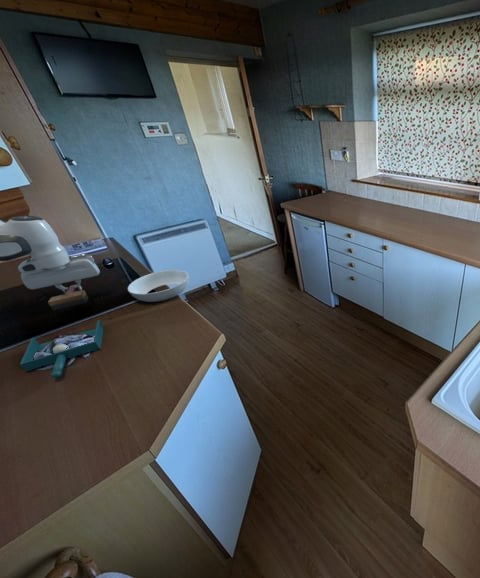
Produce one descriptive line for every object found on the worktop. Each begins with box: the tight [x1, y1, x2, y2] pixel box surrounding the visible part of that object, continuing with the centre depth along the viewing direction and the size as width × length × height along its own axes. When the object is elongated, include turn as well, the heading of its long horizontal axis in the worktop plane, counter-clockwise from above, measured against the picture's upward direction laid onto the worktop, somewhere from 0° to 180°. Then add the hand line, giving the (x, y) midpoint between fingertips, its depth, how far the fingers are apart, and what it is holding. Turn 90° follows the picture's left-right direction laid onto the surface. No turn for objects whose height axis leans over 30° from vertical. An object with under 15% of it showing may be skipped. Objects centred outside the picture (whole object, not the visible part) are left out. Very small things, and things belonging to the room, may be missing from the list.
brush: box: [47, 283, 89, 311], centre depth 112 cm, size 15×9×4 cm, turn 36°
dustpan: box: [19, 319, 105, 379], centre depth 92 cm, size 24×17×3 cm
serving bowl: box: [127, 269, 190, 303], centre depth 123 cm, size 21×21×7 cm
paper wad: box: [53, 344, 70, 353], centre depth 92 cm, size 4×4×4 cm
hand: (73, 291), depth 115 cm, fingers closed on brush, 2 cm apart
